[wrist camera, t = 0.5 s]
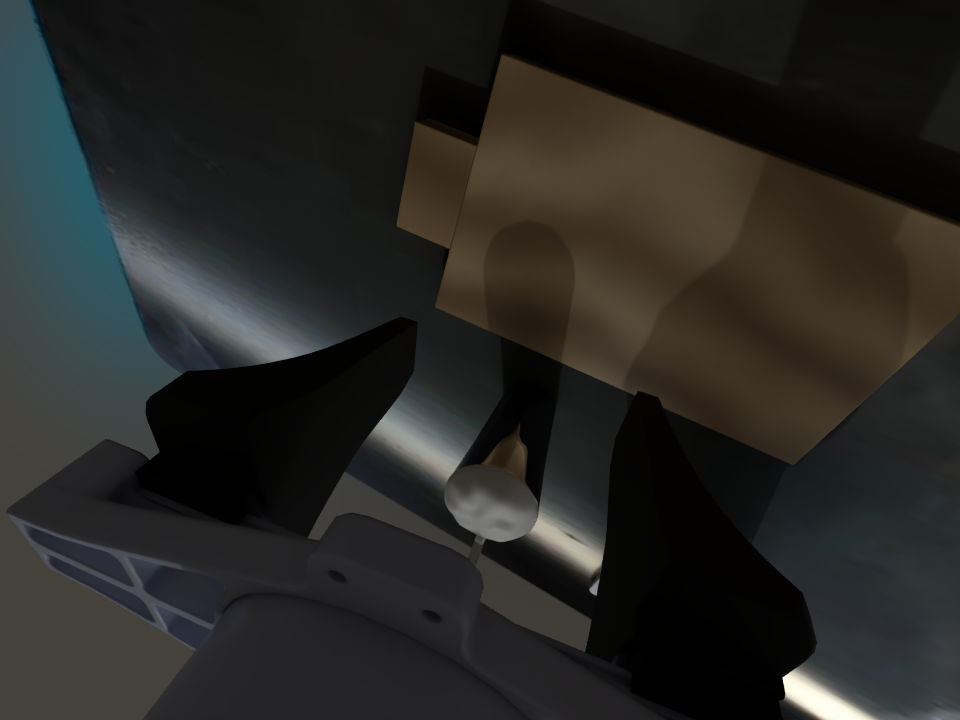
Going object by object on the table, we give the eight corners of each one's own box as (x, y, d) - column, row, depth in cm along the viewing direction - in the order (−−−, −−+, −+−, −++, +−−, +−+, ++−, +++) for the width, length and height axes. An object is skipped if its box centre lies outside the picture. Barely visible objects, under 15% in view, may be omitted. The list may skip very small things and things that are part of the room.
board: (786, 446, 24) (793, 466, 23) (397, 275, 27) (384, 285, 25) (1004, 238, 17) (1029, 251, 16) (445, 28, 19) (431, 26, 18)
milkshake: (486, 427, 30) (423, 556, 22) (501, 362, 27) (434, 486, 19) (552, 451, 30) (511, 593, 22) (575, 387, 27) (538, 526, 19)
